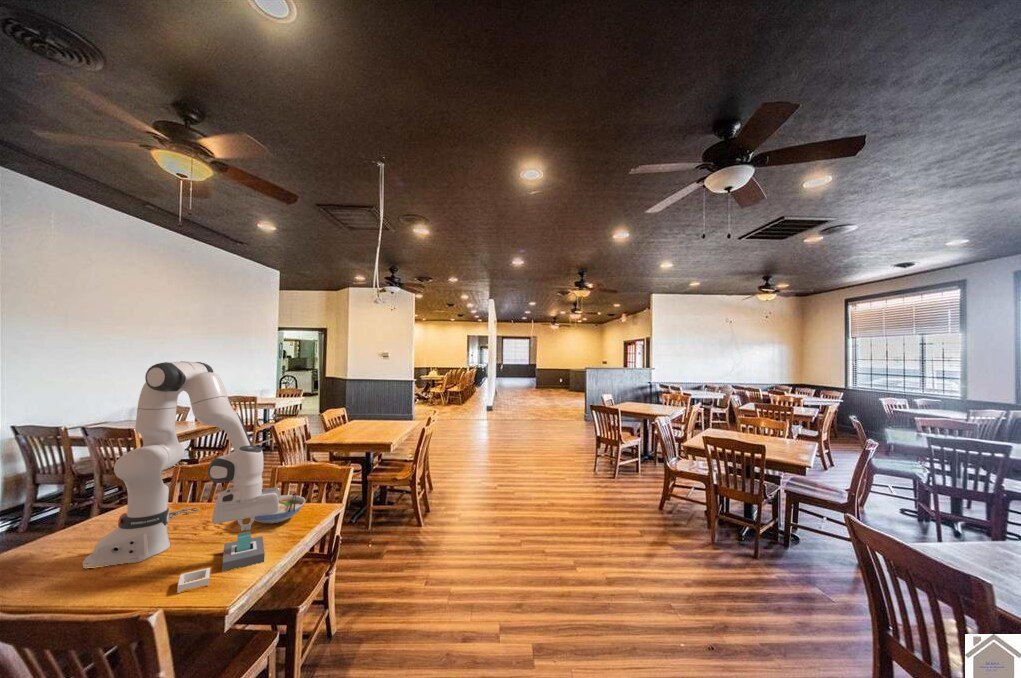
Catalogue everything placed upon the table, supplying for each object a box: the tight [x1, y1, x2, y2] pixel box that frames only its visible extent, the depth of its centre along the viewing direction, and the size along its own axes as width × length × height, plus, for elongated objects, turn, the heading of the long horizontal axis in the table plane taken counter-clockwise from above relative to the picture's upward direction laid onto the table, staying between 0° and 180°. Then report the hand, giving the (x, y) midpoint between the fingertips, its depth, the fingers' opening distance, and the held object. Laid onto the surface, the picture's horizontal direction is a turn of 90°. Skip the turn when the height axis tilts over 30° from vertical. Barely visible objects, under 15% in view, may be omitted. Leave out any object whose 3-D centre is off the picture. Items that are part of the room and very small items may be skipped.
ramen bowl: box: [254, 492, 306, 525], centre depth 170 cm, size 25×23×8 cm
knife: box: [169, 507, 199, 519], centre depth 166 cm, size 28×2×10 cm
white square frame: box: [176, 567, 211, 594], centre depth 122 cm, size 8×8×2 cm
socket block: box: [221, 535, 266, 572], centre depth 139 cm, size 12×16×3 cm
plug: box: [236, 531, 252, 552], centre depth 139 cm, size 4×4×8 cm
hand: (245, 529), depth 139 cm, fingers closed
